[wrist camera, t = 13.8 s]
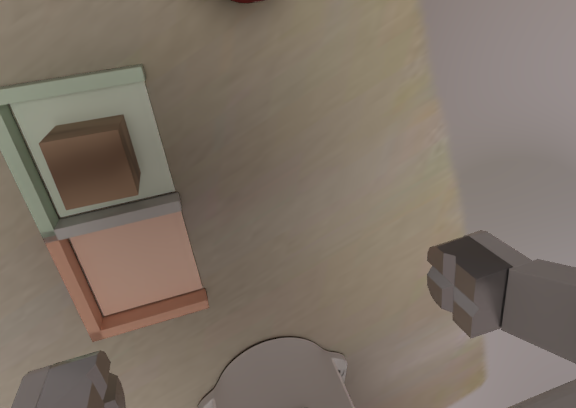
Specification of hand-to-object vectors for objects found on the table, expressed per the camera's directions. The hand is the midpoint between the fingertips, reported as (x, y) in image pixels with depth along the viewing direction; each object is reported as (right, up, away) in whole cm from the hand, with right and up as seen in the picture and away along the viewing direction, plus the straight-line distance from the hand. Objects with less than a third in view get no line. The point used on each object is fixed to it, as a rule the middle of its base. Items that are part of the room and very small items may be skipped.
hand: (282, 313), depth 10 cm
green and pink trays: (-14, +2, +25) cm, 29 cm away
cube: (-15, +7, +22) cm, 28 cm away
